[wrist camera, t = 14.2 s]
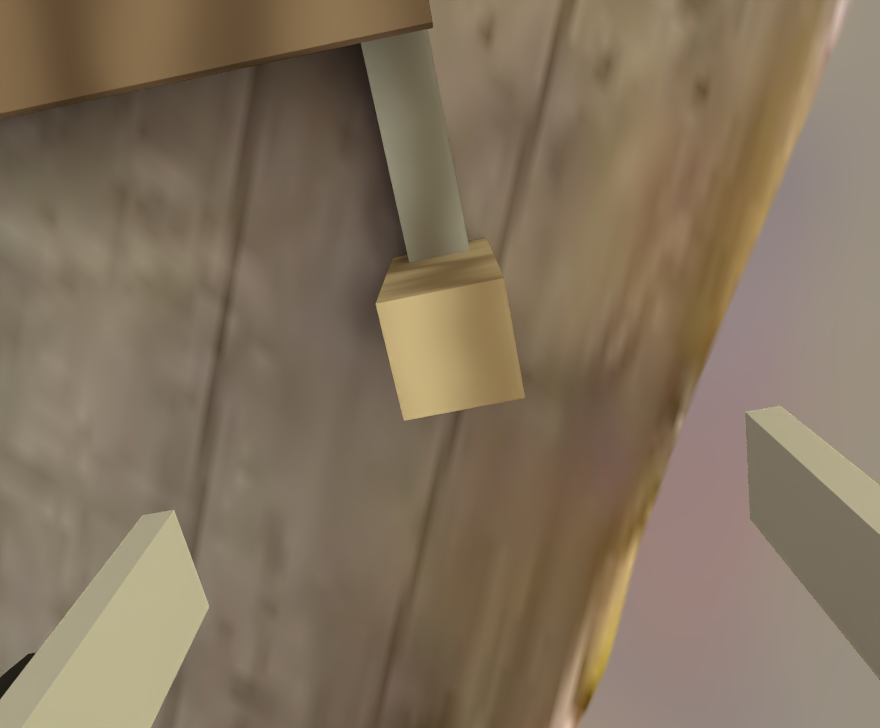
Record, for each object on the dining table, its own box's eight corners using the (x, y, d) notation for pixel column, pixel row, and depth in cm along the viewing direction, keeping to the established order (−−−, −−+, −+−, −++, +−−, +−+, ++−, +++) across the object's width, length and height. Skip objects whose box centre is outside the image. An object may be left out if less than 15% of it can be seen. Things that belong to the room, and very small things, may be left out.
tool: (412, 346, 37) (403, 420, 27) (306, -117, 30) (245, -233, 20) (502, 328, 36) (524, 397, 27) (417, -144, 29) (406, -275, 20)
